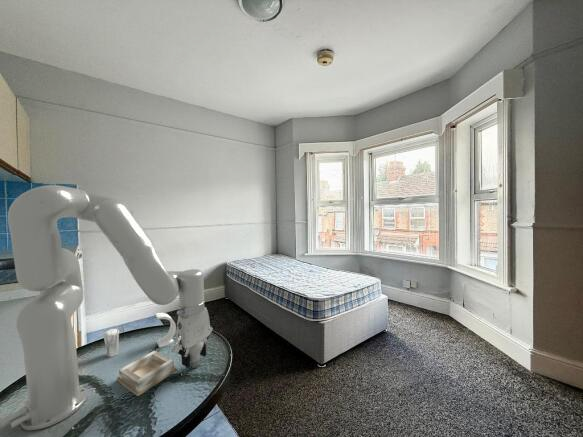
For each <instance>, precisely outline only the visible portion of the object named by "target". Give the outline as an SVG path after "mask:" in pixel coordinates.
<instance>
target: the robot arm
mask: <svg viewBox="0 0 583 437" xmlns="http://www.w3.org/2000/svg"><path fill="white" fill-rule="evenodd" d="M63 218H64V219H65V218H66V219H67V218H75V219H80V220H82V221H83V220H84V221H86V222H87V221H88V222H92V223H95V224H96V226H97V227H98V229H100V230H101V232H102V233H103V235H104V236H105V237H106V238H107V240H108V241H109V242H110V243H111V245H112V246H113V247H114V248H115V250H116V251H117V253H118V254H119V255H120V256H121V257H122V260H123V262H124V264H125V266H126V267H127V269H128V271H129V273H130V274H131V276H132V277H133V280H134V281H135V283H136V284H137V285H138V287H139V288H140V289H141V290H142V292H143V293H144V294H145V295H146V297H147V298H148V299H149V300H150V301H151V302H152V303H154V304H156V305H159V306H165V305H169V304H171V303H172V302H174V301H175V300H176V298H177V297H178V298H179V308H178V310H177V311H176V315H178V317H177V322H176V323H177V325H176V341H175V342H174V343H173V346H172V348H171V352H172V353H174V354H177V355H180V356H181V364H182V366H183V367H186V368H188V369H189V368H190V367H191V362H190V355H188V353H189V349H190V348H191V347H192V346H194V345H196V344H197V343H199V342H200V341H202V340H204V345H203V348H202V350H201V352H200V356H202V357H206V356H207V344H208V342H209V341H208V340H209V338H210V334H212V332H213V329H214V328H213V327H212V326H211V324H210V316H209V312H208V309H207V306H205V287H204V285H205V284H204V272H203V271H202V270H200V269H195V268H191V269H187V270H183V271H182V270H181V271H179V270H178V271H177V270H176V271H175V270H172V271H171V270H170V271H169V270H168V271H167V270H166V269H165V267H164V265H163V264H162V263H161V261H160V258H159V257H158V255H157V251H156V248H155V245H154V243H153V241H152V239H151V238H150V237H149V235H148V234H147V232H146V231H145V230H144V229H143V226H141V224H140V223H139V222H138V220H137V218H136V217H135V216H134V210H133V208H132V207H131V206H130V204H128V202H126V201H123V200H121V199H116V198H112V197H108V196H105V195H104V196H103V195H101V194H97V193H93V192H89V191H87V190H82V189H80V188H79V189H78V188H75V187H69V186H66V185H65V186H64V185H57V184H48V185H41V186H38V187H37V186H36V187H33V188H30V189H29V190H27V191H26V192H25V191H24V192H23V193H22V194H19V196H18V197H16V198H15V199H14V201H12V203H11V205H10V206H9V209H8V213H7V224H8V225H7V226H8V229H9V234H10V239H11V248H12V249H11V250H12V256H13V261H14V268H15V276H16V280H17V282H18V284H19V286H20V287H22V288H23V289H24V290H26V291H29V292H39V294H38V295H37V296H36V297H34V298H33V299H30V300H29V301H28V302H27V303H26V304H25V305H23V307H22V308H21V310H20V311H19V312H18V315H17V316H16V324H15V325H16V326H15V327H16V330H17V333H18V336H19V338H20V341H21V345H22V351H23V352H22V353H23V358H24V368H25V379H26V389H27V400H26V401H25V402H24V403H23V404H24V406H23V407H21V408H19V409H18V411H17V412H15V413H12V414H10V415H8V416H6V417H4V418H2V419H0V429H1V430H3V429H4V428H6V427H8V426H10V428H11V429H13V428H16V427H18V426H19V425H20V427H21V428H22V429H23V430H25V431H39V430H42V429H45V428H49V427H52V426H53V425H55V424H57V423H60V422H62V421H64V420H65V419H67V418H69V417H70V416H72V415H73V414H74V413H75V412H76V411H78V410H79V409H80V408H81V407H83V405H84V404H85V402H86V400H87V397H88V390H87V389H86V388H84V387H82V386H80V381H79V380H80V379H79V370H78V369H79V368H78V367H79V366H78V354H77V343H76V342H77V341H76V334H75V330H74V327H73V325H72V324H73V323H72V316H73V315H74V313H75V312H76V311H77V310H78V309H79V308H80V306H81V304H82V303H83V300H84V286H83V280H82V272H81V265H80V261H79V259H78V257H77V256H76V254H75V253H74V252H73V251H71V250H69V249H68V248H64V247H63V248H62V239H61V238H62V237H61V234H60V230H59V228H58V225H57V223H58V221H59V220H60V219H63ZM178 295H179V296H178Z"/></svg>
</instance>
